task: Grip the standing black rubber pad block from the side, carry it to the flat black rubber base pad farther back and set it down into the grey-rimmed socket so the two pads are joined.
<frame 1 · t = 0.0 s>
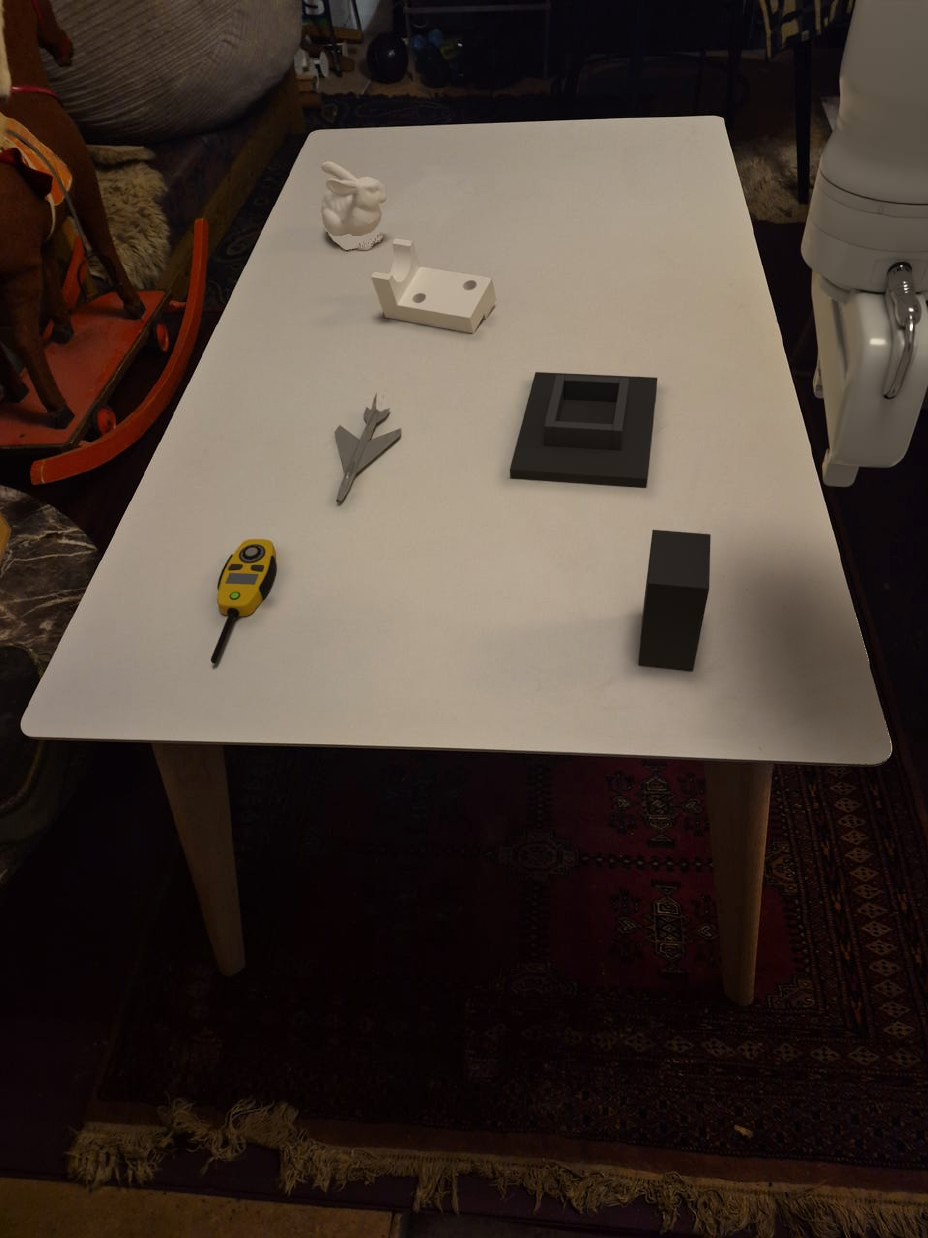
hand: (830, 433, 57), 21 cm above the table, tool pointing down, fingers open, 8 cm apart
base pad: (586, 430, 94), on the table
pad block: (667, 641, 73), on the table
rabbit: (358, 243, 129), on the table
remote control: (241, 606, 80), on the table
bracket: (438, 316, 113), on the table
toy airplane: (365, 446, 95), on the table
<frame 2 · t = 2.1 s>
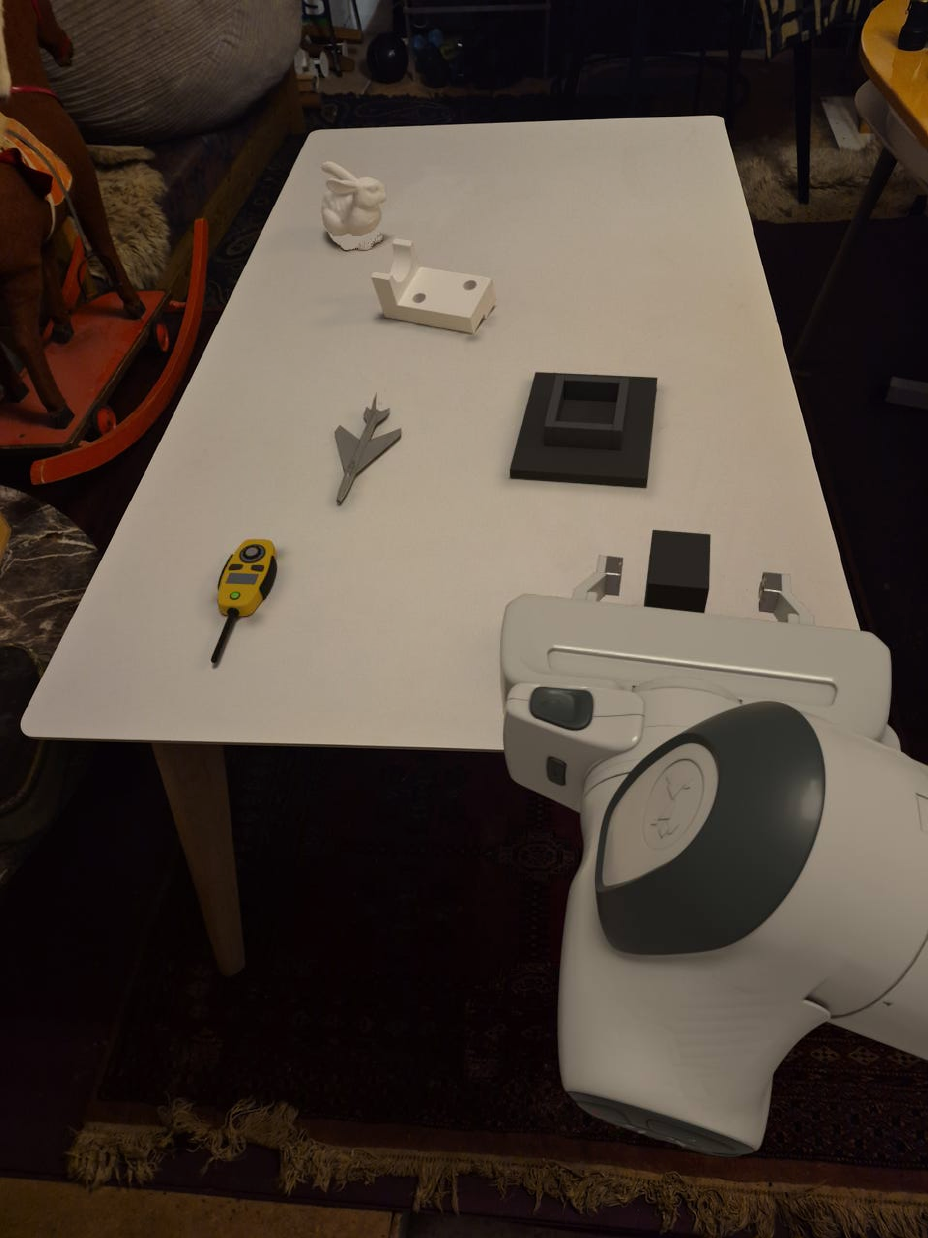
hand: (690, 571, 51), 20 cm above the table, tool horizontal, fingers open, 8 cm apart
nothing on the table moved.
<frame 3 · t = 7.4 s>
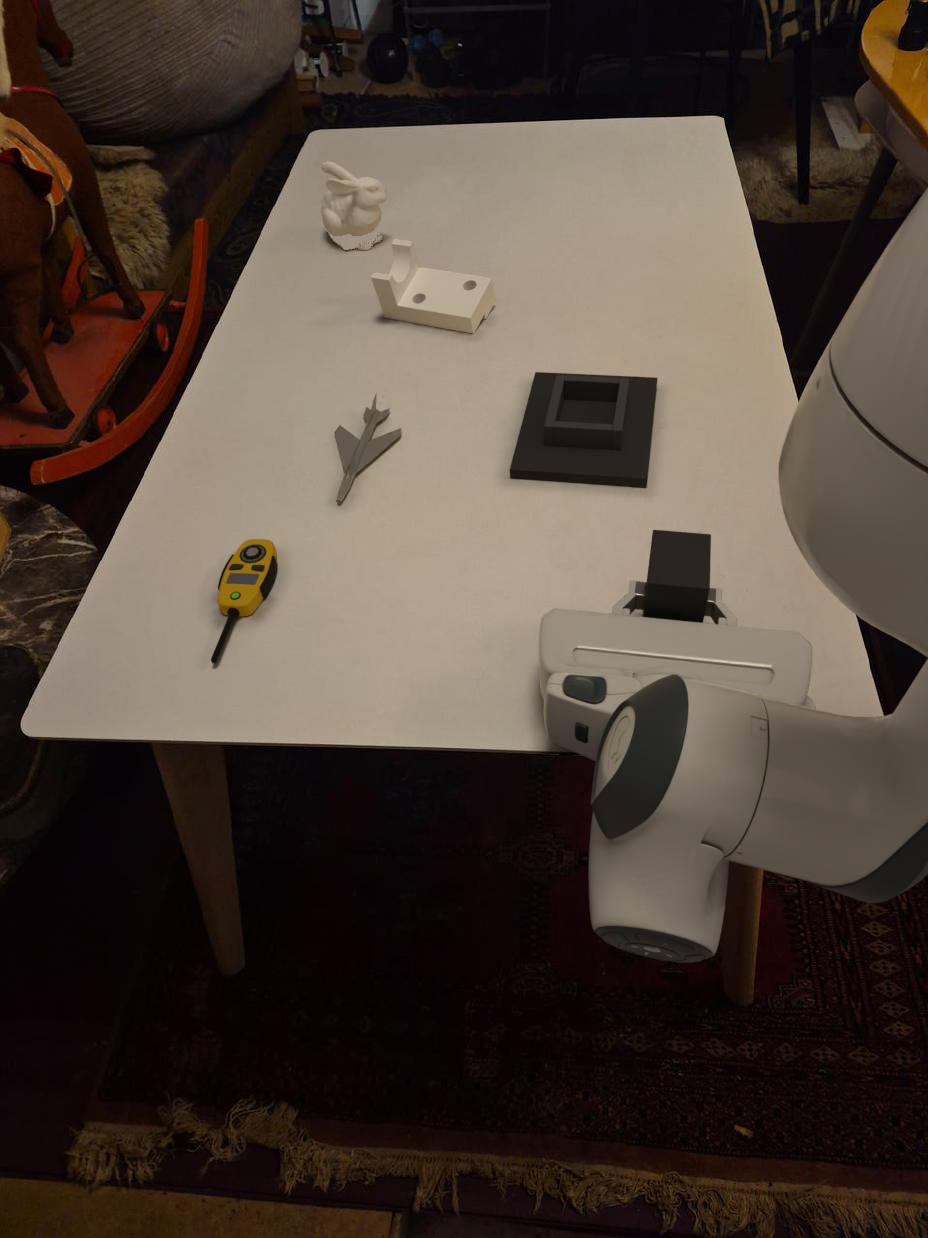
hand: (674, 589, 70), 6 cm above the table, tool horizontal, fingers closed on pad block, 4 cm apart
pad block: (667, 641, 73), on the table, touching gripper
everything else where it was.
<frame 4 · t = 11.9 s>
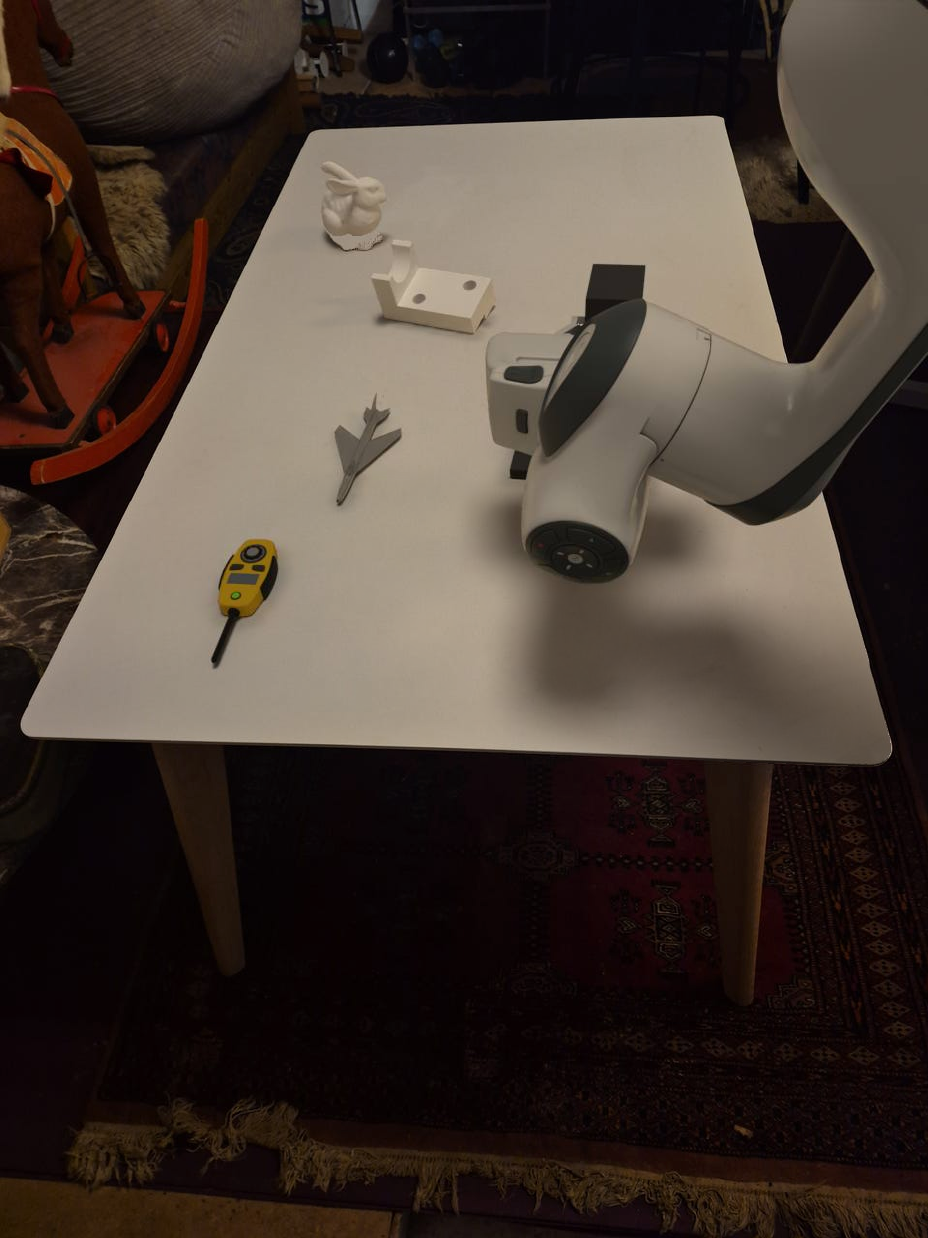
hand: (613, 324, 76), 17 cm above the table, tool horizontal, fingers closed on pad block, 4 cm apart
pad block: (609, 384, 79), point 12 cm above the table, touching gripper
everything else where it was.
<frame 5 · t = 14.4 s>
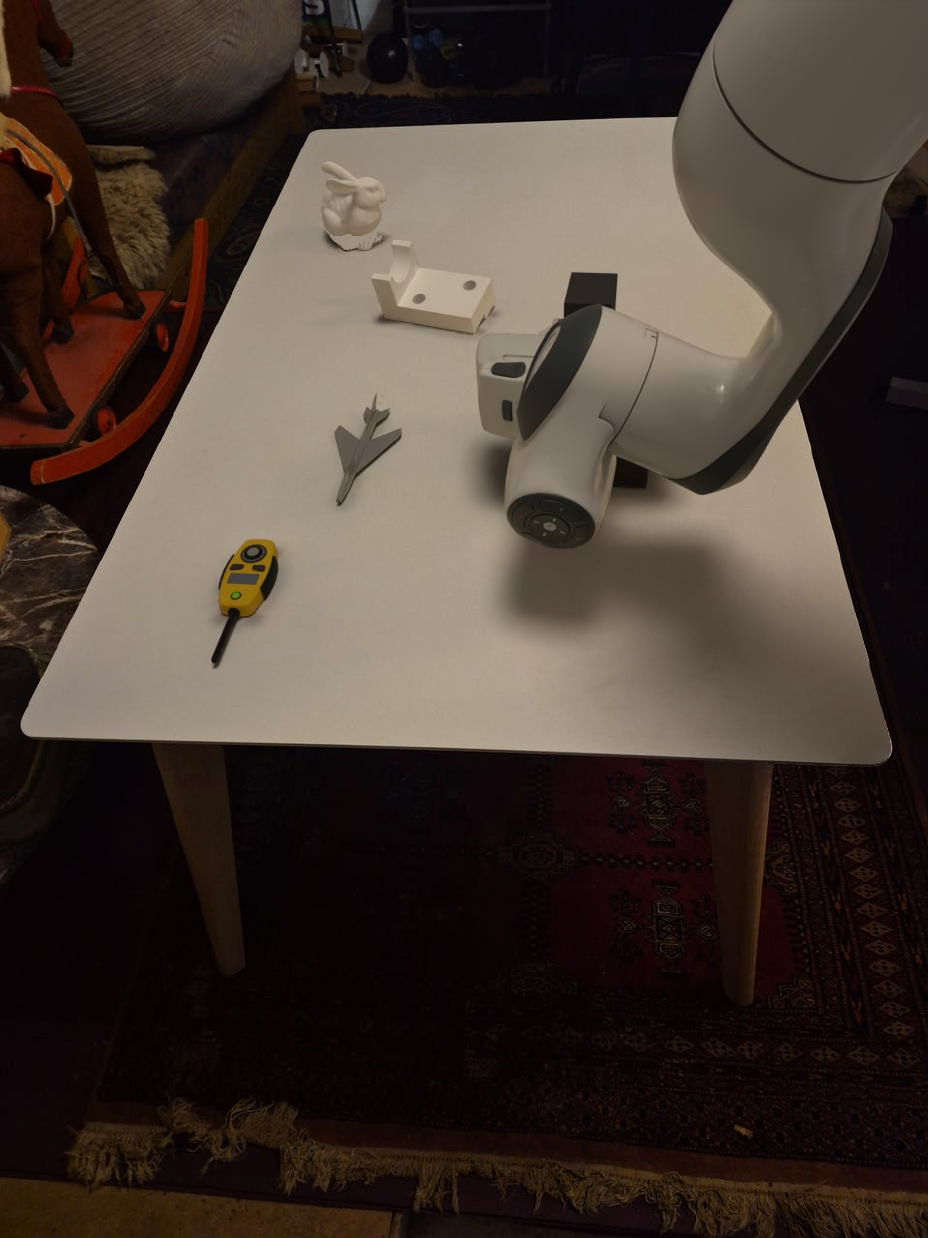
hand: (590, 325, 85), 12 cm above the table, tool horizontal, fingers closed on pad block, 4 cm apart
pad block: (587, 379, 89), point 6 cm above the table, touching gripper
everything else where it was.
when the fingers open (7 cm above the table, at t = 16.3 s): pad block stays where it is, resting on base pad.
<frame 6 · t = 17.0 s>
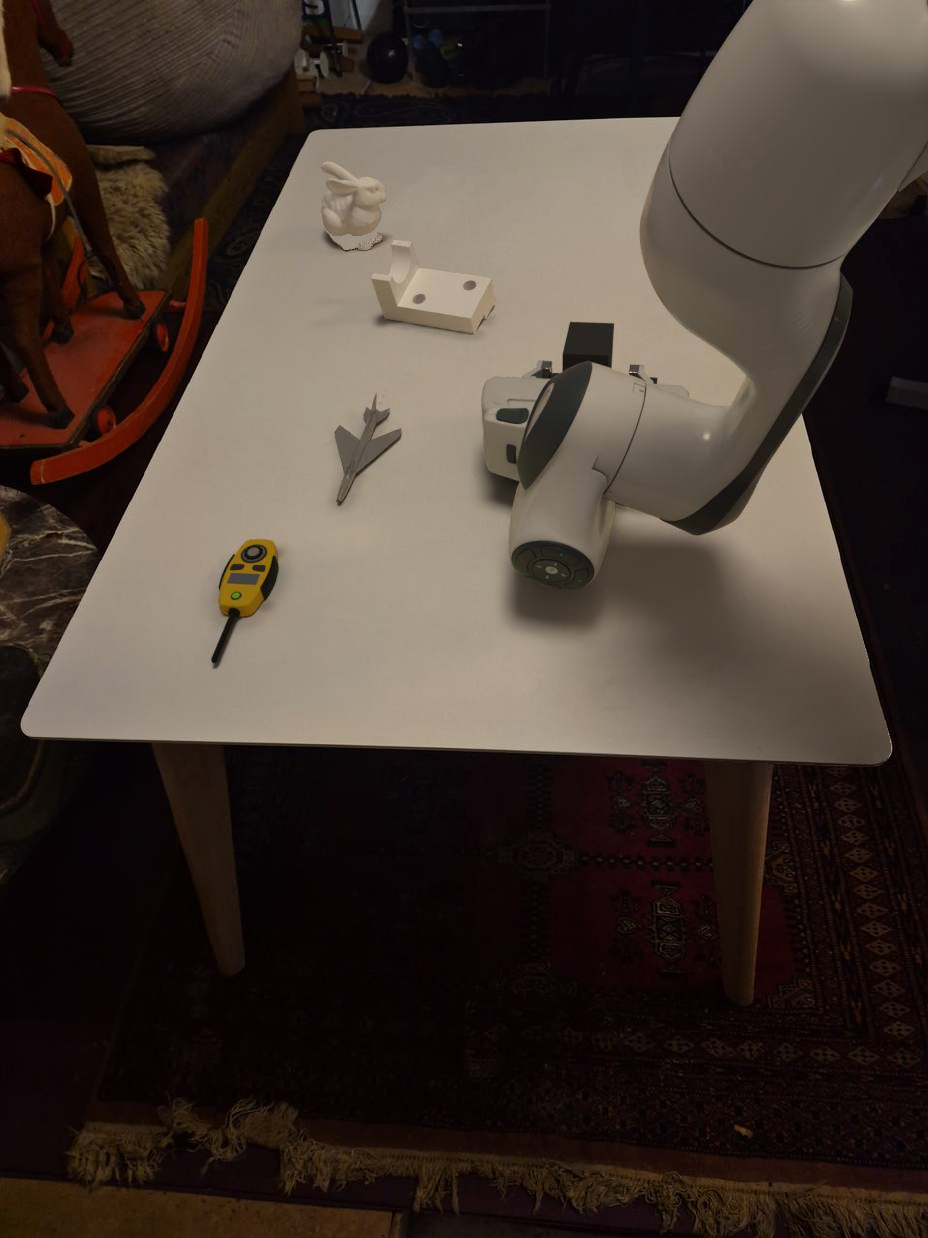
hand: (590, 368, 89), 7 cm above the table, tool horizontal, fingers open, 8 cm apart
pad block: (585, 421, 93), point 1 cm above the table, touching base pad
everything else where it was.
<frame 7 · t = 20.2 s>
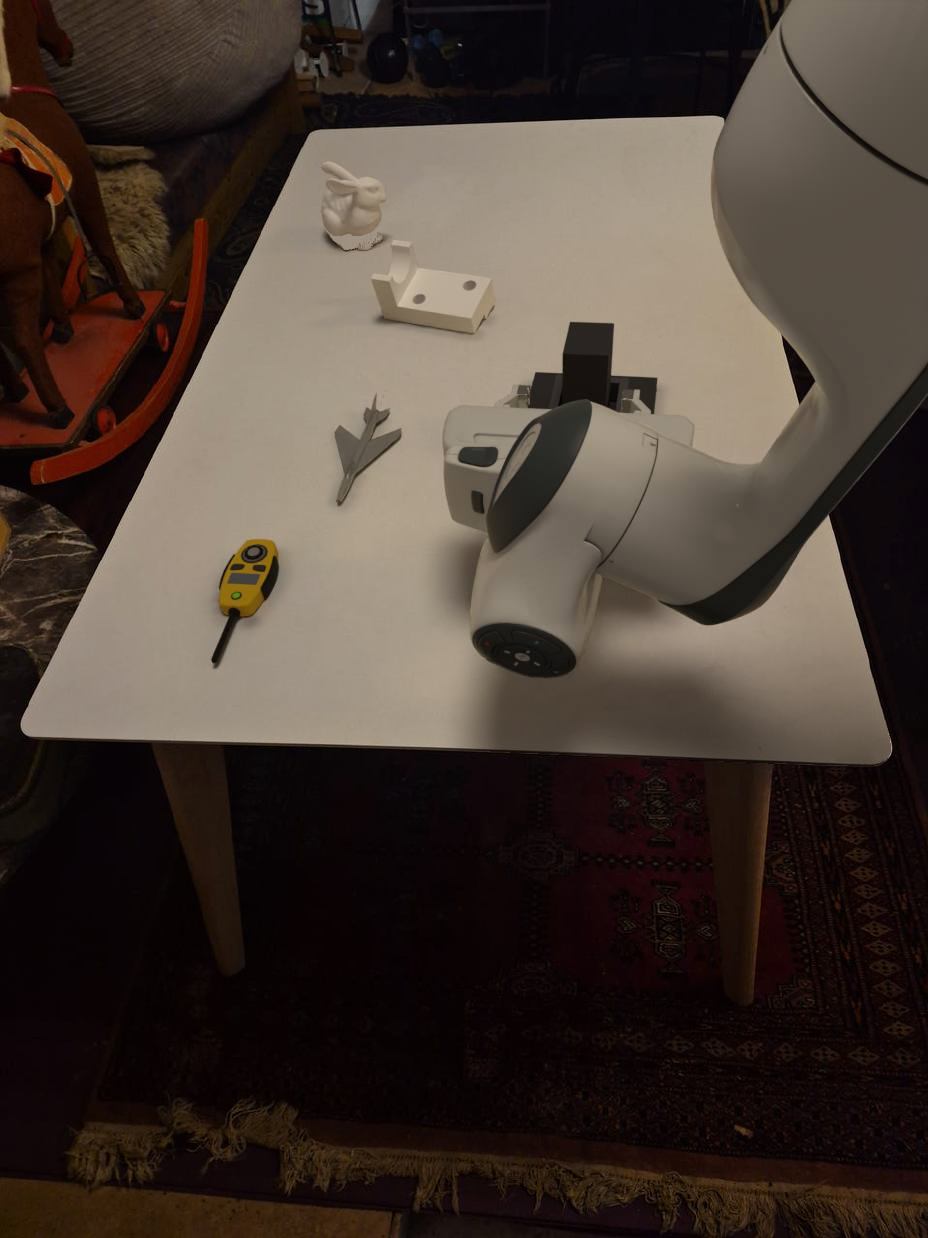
hand: (576, 393, 74), 14 cm above the table, tool horizontal, fingers open, 8 cm apart
nothing on the table moved.
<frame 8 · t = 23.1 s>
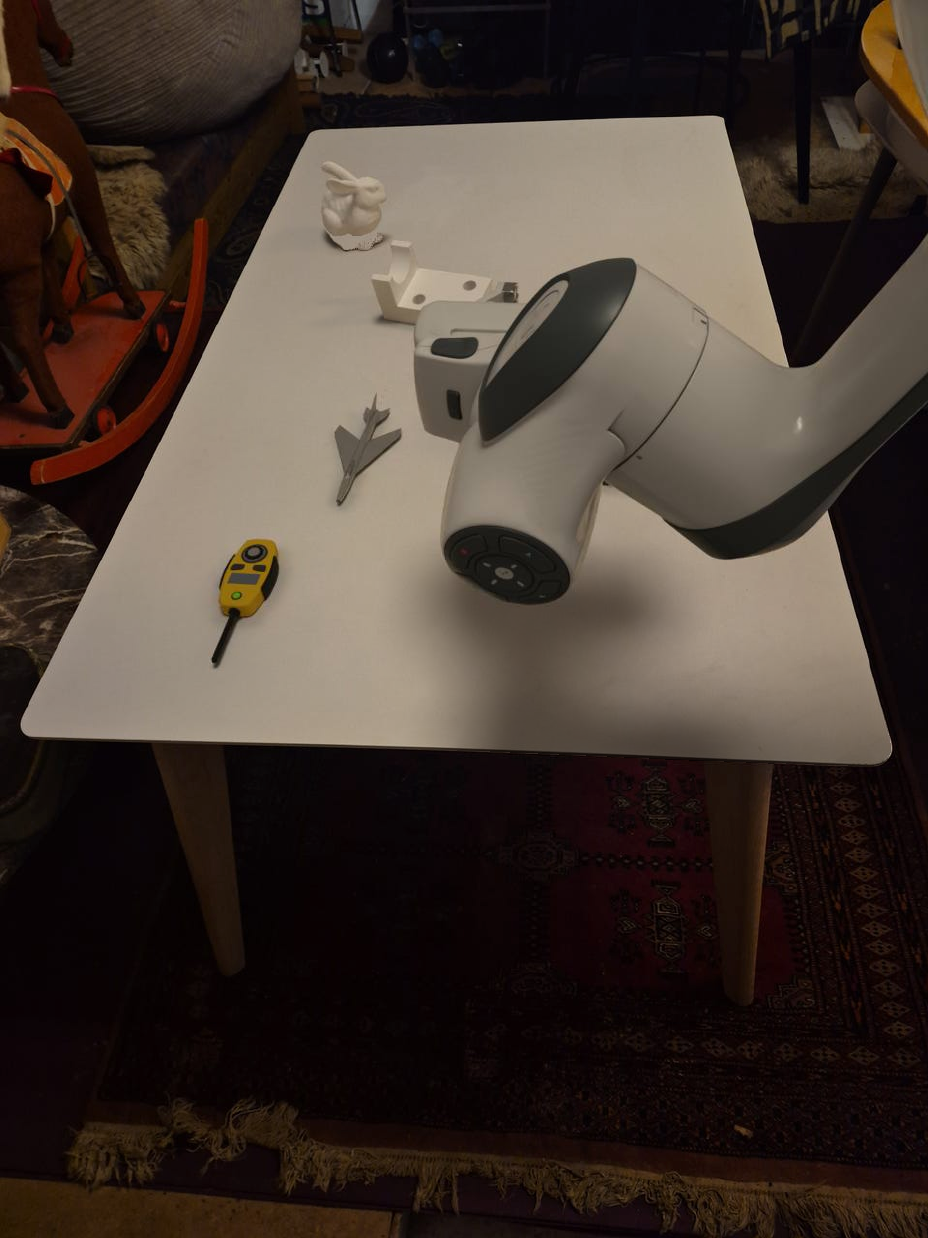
hand: (571, 292, 64), 25 cm above the table, tool horizontal, fingers open, 8 cm apart
nothing on the table moved.
at the end: pad block 0.1 cm off-centre on the base pad, point 1.2 cm above the base pad's base; pad block tilted 0°; the gripper is holding nothing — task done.
